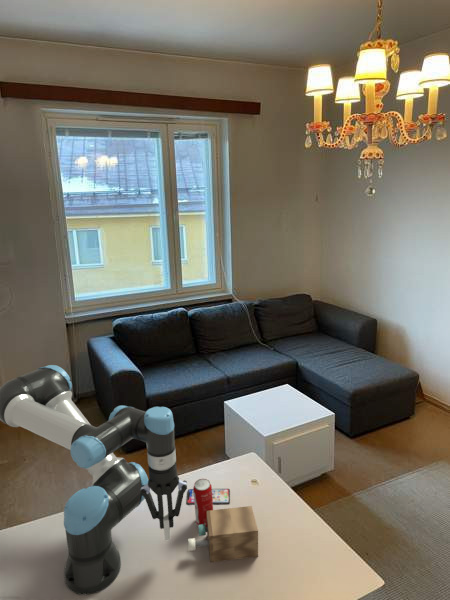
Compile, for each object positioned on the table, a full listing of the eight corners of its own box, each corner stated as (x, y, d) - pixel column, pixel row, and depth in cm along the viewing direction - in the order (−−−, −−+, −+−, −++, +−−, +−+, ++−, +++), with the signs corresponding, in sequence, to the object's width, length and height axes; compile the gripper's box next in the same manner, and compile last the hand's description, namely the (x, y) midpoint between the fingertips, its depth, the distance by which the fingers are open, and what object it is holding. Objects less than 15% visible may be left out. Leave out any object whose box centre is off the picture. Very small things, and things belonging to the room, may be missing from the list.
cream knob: (188, 553, 121) (188, 544, 121) (188, 545, 124) (187, 536, 123) (216, 550, 122) (216, 541, 121) (215, 541, 125) (215, 533, 124)
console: (210, 562, 122) (209, 536, 120) (207, 535, 131) (206, 510, 129) (258, 556, 123) (258, 530, 121) (251, 530, 133) (251, 505, 131)
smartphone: (229, 503, 144) (185, 503, 144) (229, 505, 144) (186, 506, 145) (229, 488, 151) (188, 488, 152) (229, 490, 152) (188, 490, 152)
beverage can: (214, 516, 139) (213, 476, 136) (212, 531, 133) (210, 490, 129) (197, 515, 140) (195, 475, 136) (193, 530, 133) (191, 489, 130)
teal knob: (199, 538, 126) (198, 530, 126) (198, 530, 129) (198, 522, 129) (225, 535, 127) (225, 527, 127) (224, 527, 130) (224, 519, 130)
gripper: (136, 474, 111) (143, 549, 116) (186, 469, 112) (191, 543, 118) (138, 457, 118) (145, 529, 123) (185, 452, 119) (189, 523, 125)
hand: (167, 536), depth 121 cm, fingers closed
